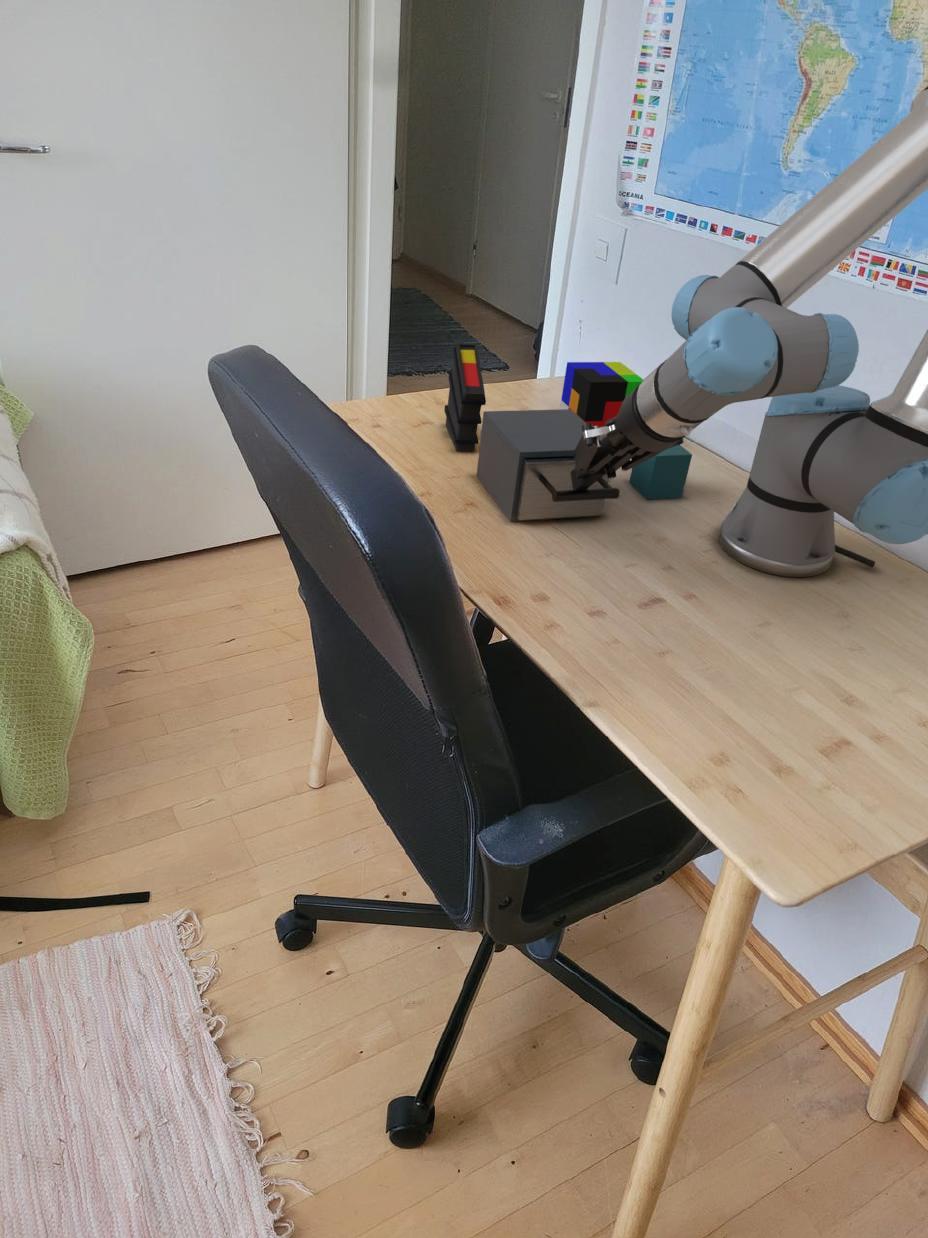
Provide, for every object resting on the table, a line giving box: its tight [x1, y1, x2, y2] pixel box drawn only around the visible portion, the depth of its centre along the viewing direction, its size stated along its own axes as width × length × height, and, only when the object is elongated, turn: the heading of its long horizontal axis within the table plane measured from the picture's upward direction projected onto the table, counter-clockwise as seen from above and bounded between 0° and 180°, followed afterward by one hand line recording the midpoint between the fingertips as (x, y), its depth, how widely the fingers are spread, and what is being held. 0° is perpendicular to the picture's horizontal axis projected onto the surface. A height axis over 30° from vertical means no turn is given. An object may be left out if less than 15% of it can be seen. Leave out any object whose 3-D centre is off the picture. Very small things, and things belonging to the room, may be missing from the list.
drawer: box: [516, 456, 620, 520], centre depth 132 cm, size 20×13×8 cm, turn 18°
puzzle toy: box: [559, 361, 644, 428], centre depth 162 cm, size 10×10×10 cm
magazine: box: [443, 342, 487, 453], centre depth 151 cm, size 4×13×15 cm, turn 10°
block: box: [628, 444, 693, 501], centre depth 143 cm, size 6×6×7 cm
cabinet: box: [476, 409, 602, 523], centre depth 136 cm, size 15×14×10 cm
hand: (577, 481), depth 125 cm, fingers closed
